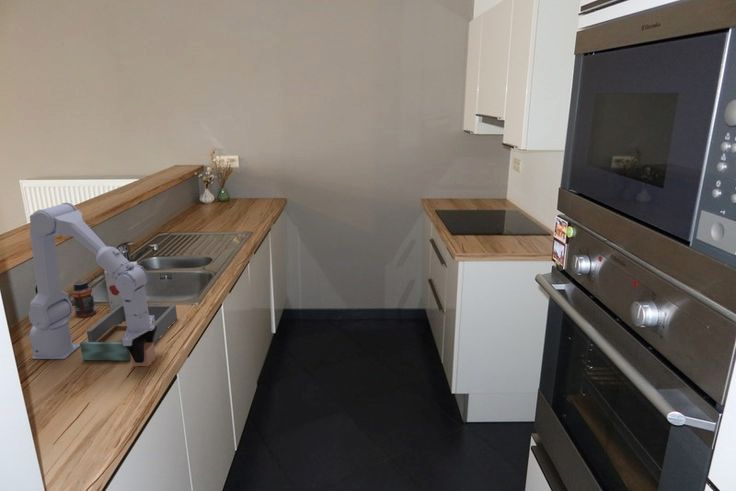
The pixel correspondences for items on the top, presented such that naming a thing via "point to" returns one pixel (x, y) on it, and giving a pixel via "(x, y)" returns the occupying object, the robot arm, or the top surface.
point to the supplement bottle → (83, 299)
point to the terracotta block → (146, 355)
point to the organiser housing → (161, 314)
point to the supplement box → (113, 291)
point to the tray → (107, 346)
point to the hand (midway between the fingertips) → (143, 357)
